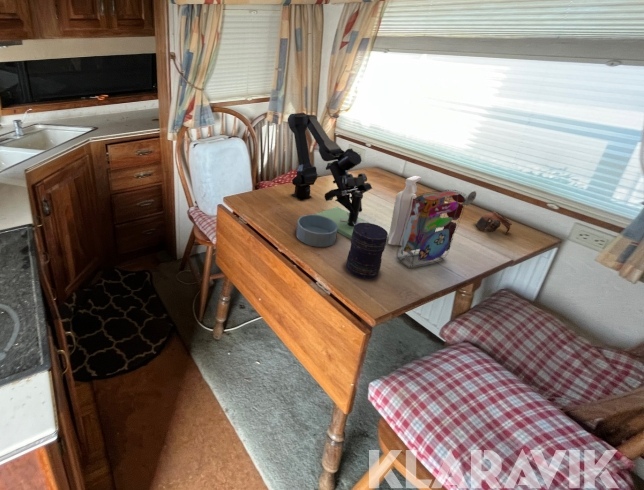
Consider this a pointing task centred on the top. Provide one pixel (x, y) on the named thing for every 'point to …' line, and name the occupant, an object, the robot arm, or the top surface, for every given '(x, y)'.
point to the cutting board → (336, 215)
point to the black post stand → (356, 206)
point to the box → (432, 224)
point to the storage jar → (366, 250)
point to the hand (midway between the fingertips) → (357, 212)
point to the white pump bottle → (402, 211)
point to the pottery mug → (492, 222)
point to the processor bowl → (316, 230)
